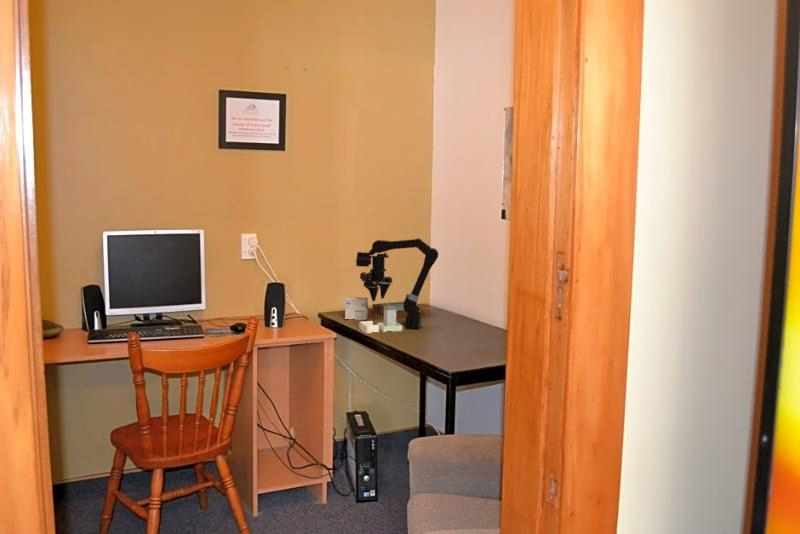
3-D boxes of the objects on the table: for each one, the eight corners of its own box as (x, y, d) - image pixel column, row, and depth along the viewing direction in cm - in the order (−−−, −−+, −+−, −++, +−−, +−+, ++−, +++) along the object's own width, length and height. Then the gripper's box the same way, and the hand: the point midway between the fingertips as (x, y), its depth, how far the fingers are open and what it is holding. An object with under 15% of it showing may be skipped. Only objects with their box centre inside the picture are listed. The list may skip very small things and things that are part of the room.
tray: (395, 327, 337) (395, 321, 337) (402, 330, 329) (402, 325, 329) (377, 328, 334) (377, 322, 334) (383, 332, 326) (383, 326, 325)
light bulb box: (368, 318, 358) (368, 297, 357) (366, 320, 352) (366, 299, 350) (347, 317, 359) (347, 296, 358) (344, 320, 353) (344, 298, 351)
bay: (372, 328, 334) (372, 320, 333) (378, 332, 325) (378, 324, 324) (359, 328, 332) (359, 321, 331) (365, 333, 322) (365, 325, 322)
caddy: (392, 326, 335) (392, 305, 333) (395, 329, 330) (396, 307, 329) (383, 327, 333) (383, 306, 332) (387, 329, 328) (387, 308, 327)
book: (372, 313, 375) (372, 303, 375) (402, 311, 383) (402, 301, 382) (390, 320, 355) (390, 311, 354) (421, 318, 362) (421, 308, 362)
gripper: (372, 263, 345) (371, 295, 347) (353, 267, 329) (353, 301, 330) (392, 265, 341) (392, 297, 343) (375, 269, 324) (374, 303, 326)
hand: (378, 299), depth 335 cm, fingers open, 9 cm apart
